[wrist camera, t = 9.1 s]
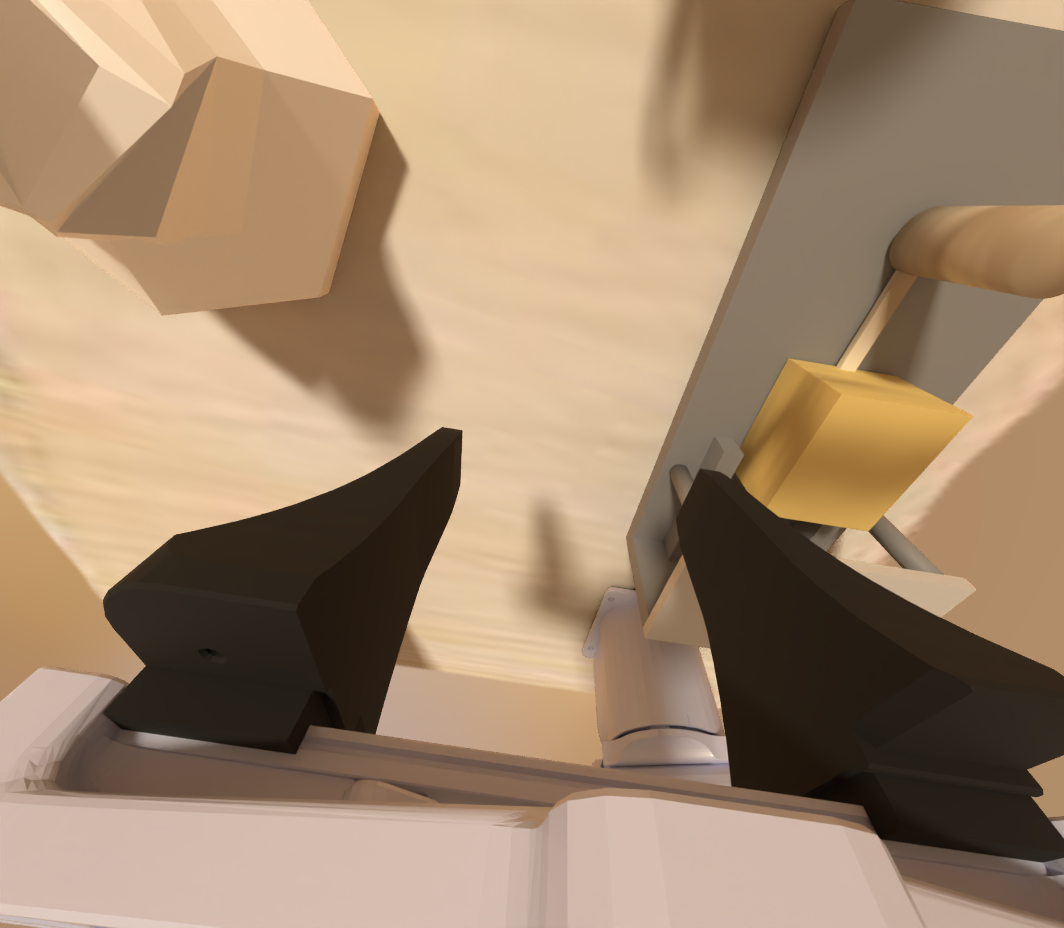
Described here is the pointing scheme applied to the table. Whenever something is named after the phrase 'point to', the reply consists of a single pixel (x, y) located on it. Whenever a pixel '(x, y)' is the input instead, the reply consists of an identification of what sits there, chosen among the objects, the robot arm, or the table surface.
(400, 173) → the table surface
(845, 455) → the yellow block
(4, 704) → the robot arm
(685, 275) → the table surface
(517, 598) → the table surface
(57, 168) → the cream faceted rock
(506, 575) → the table surface
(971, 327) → the plate
